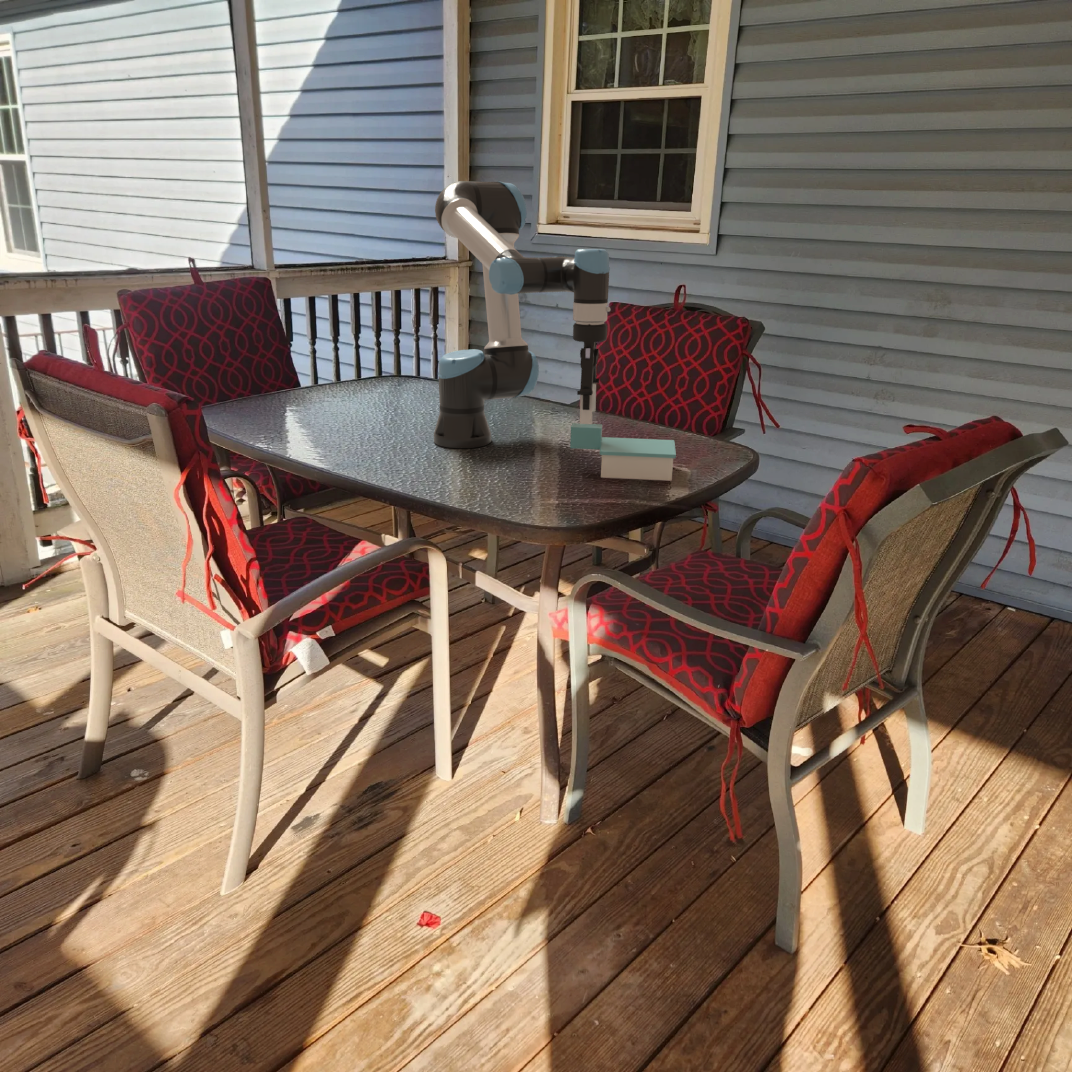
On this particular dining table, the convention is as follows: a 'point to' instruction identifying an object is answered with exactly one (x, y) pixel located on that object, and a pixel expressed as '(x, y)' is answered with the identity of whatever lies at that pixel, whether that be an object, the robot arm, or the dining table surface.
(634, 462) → the tub
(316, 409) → the dining table surface
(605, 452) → the lid
